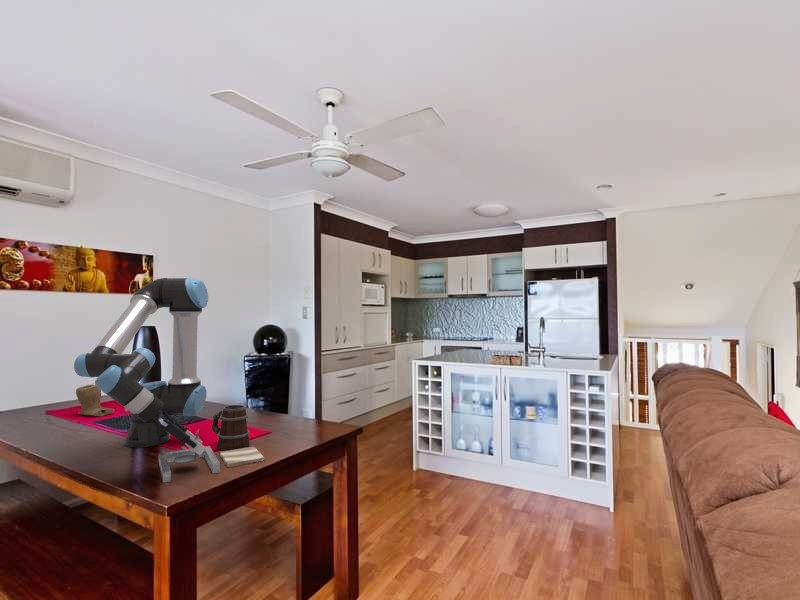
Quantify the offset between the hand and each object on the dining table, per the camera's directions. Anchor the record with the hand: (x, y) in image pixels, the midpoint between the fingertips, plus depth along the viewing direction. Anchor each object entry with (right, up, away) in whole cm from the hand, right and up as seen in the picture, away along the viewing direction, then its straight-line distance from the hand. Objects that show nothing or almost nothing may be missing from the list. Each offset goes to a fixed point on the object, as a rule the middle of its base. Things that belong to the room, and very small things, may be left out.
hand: (201, 448), depth 141 cm
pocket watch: (-3, -4, -2) cm, 5 cm away
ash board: (+10, -7, +9) cm, 15 cm away
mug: (0, -7, +23) cm, 24 cm away
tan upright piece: (-85, -7, +67) cm, 108 cm away
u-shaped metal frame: (-6, -6, +2) cm, 9 cm away
